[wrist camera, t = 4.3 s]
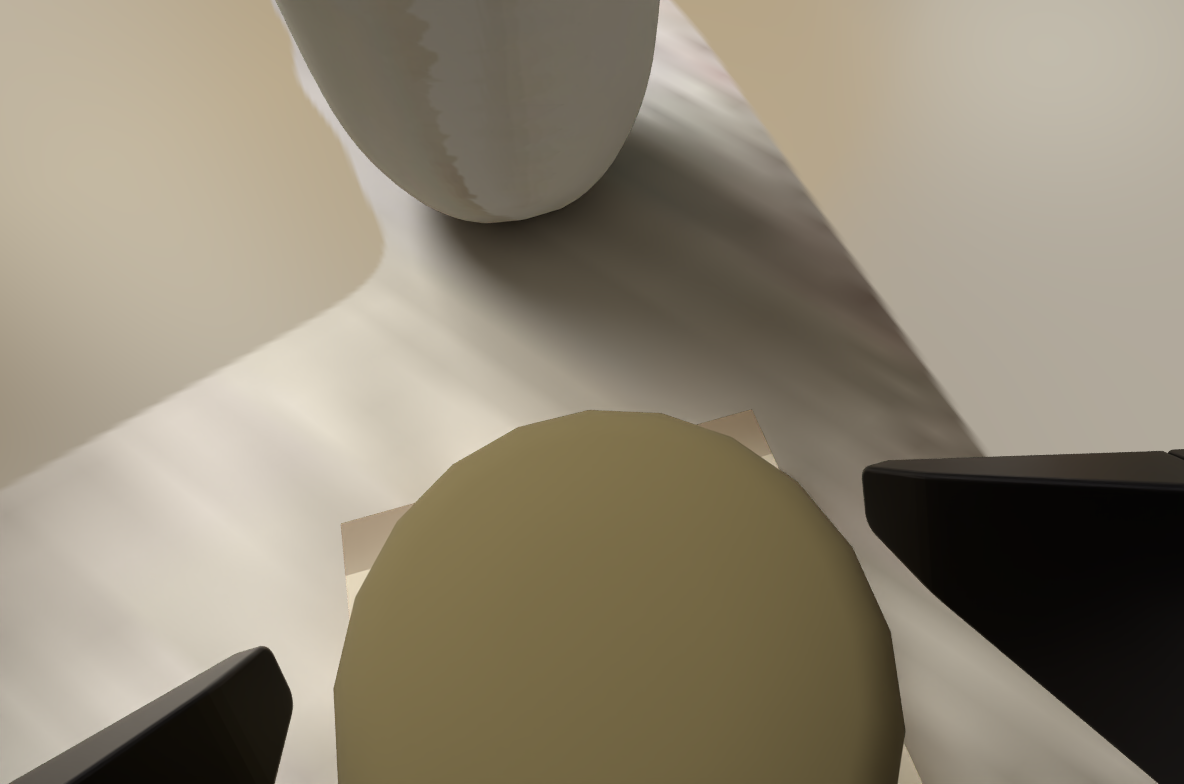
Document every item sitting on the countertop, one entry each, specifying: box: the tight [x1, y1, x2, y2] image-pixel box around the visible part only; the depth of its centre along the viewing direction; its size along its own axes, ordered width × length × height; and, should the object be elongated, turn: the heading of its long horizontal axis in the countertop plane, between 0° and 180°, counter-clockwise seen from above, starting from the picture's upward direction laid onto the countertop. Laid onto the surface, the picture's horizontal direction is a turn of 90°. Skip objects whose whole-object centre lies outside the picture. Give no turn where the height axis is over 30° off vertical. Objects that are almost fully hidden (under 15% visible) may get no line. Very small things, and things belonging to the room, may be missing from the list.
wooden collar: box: [341, 409, 923, 784], centre depth 13 cm, size 10×10×2 cm
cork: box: [334, 410, 905, 784], centre depth 9 cm, size 6×6×11 cm
